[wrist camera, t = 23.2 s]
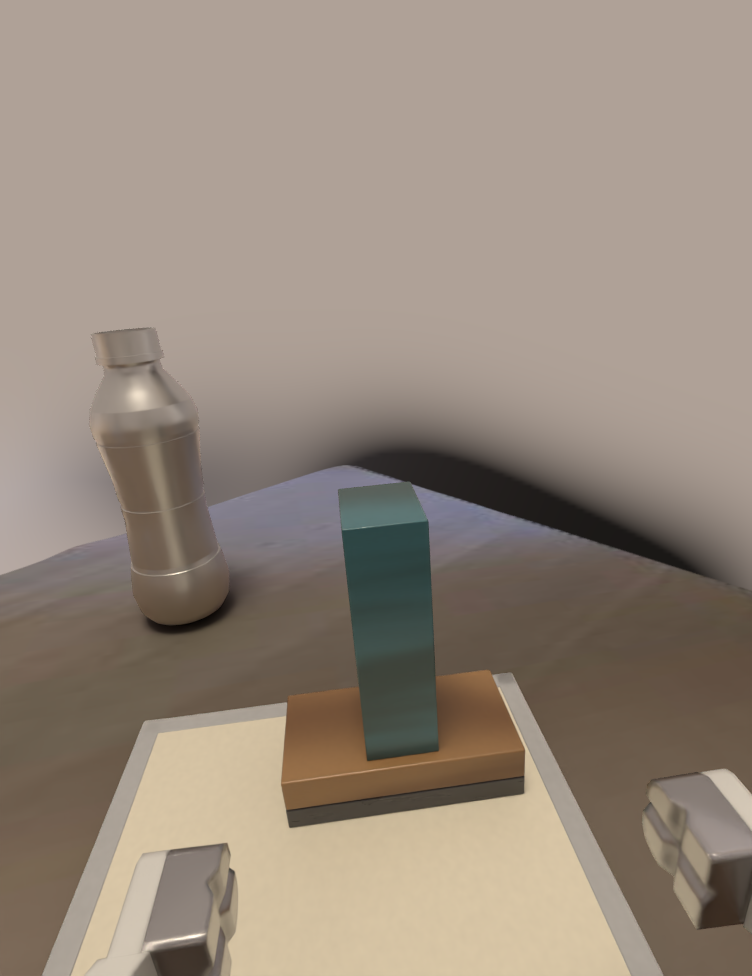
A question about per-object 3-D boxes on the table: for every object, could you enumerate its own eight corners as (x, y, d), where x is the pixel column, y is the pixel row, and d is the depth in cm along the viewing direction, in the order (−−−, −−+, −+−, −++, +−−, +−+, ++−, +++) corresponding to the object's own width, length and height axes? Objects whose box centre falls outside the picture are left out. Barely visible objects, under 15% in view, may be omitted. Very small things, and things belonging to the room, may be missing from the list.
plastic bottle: (165, 588, 43) (101, 330, 36) (247, 586, 42) (197, 322, 35) (123, 638, 37) (35, 340, 30) (217, 637, 36) (150, 331, 29)
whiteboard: (992, 1670, 9) (1011, 1664, 8) (-357, 2044, 7) (-395, 2052, 7) (511, 684, 30) (511, 671, 30) (147, 732, 29) (143, 720, 28)
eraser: (524, 794, 23) (533, 514, 18) (288, 828, 22) (235, 548, 18) (490, 708, 27) (489, 468, 23) (294, 734, 27) (253, 493, 22)
